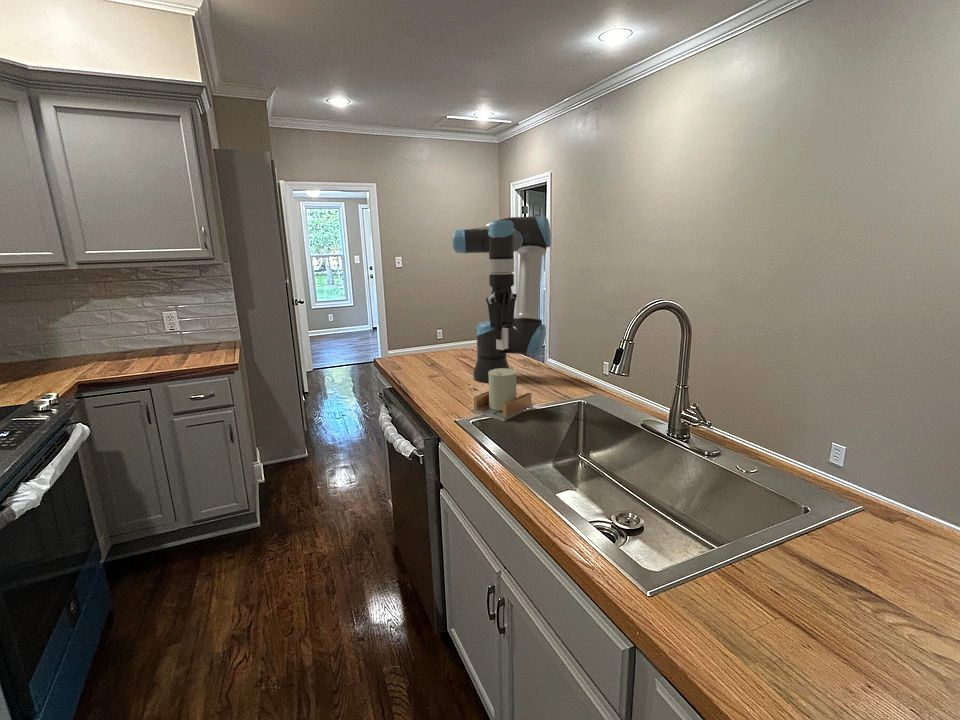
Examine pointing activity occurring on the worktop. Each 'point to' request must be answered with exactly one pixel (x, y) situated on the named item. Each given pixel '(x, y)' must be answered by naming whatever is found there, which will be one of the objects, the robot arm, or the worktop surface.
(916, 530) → the worktop surface
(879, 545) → the worktop surface
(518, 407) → the rail holder
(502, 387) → the can
